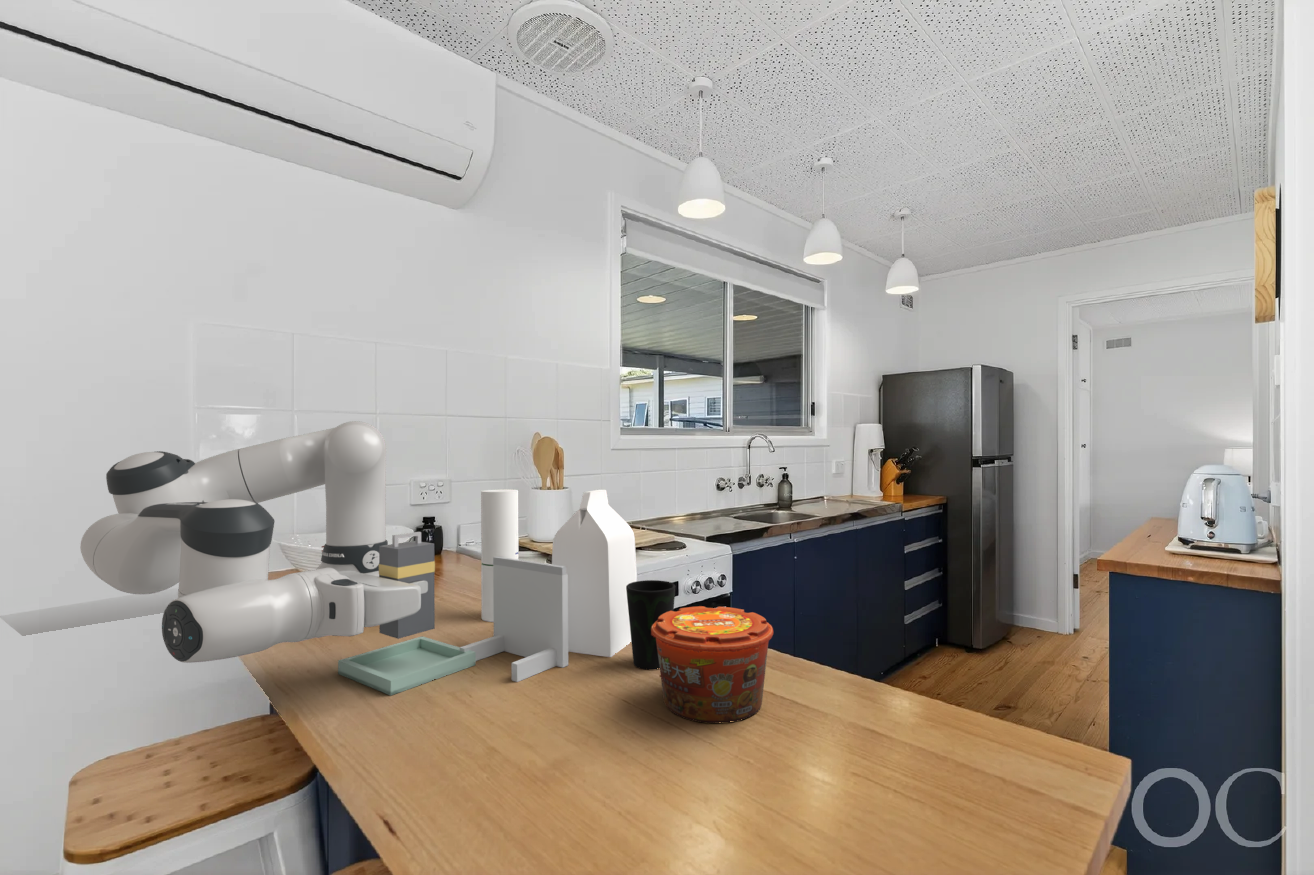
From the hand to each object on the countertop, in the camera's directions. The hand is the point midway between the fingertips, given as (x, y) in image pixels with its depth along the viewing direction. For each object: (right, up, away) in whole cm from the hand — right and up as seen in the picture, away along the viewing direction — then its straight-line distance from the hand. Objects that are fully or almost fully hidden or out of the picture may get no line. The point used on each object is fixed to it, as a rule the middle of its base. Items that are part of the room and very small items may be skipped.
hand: (412, 583), depth 93 cm
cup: (+36, -13, +1) cm, 39 cm away
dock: (+14, -13, +1) cm, 19 cm away
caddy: (-1, -7, -1) cm, 7 cm away
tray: (0, -13, -1) cm, 13 cm away
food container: (+45, -13, -13) cm, 48 cm away
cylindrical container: (+6, -13, +28) cm, 31 cm away
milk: (+27, -13, +12) cm, 32 cm away
